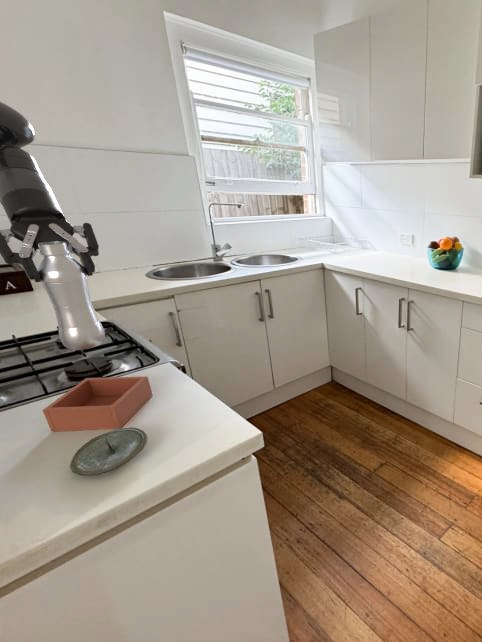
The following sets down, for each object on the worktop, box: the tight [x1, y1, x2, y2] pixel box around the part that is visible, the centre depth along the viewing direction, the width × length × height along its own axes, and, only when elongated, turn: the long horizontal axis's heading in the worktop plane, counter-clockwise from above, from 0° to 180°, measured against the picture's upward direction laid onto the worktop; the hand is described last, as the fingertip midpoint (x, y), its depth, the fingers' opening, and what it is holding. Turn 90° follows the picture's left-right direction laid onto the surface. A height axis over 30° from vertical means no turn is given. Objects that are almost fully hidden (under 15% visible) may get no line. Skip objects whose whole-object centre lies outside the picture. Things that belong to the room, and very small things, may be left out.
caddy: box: [42, 375, 154, 432], centre depth 74 cm, size 12×12×5 cm
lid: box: [69, 427, 148, 477], centre depth 62 cm, size 11×10×5 cm
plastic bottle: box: [37, 241, 106, 351], centre depth 70 cm, size 6×7×20 cm
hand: (65, 276), depth 68 cm, fingers closed on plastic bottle, 6 cm apart
